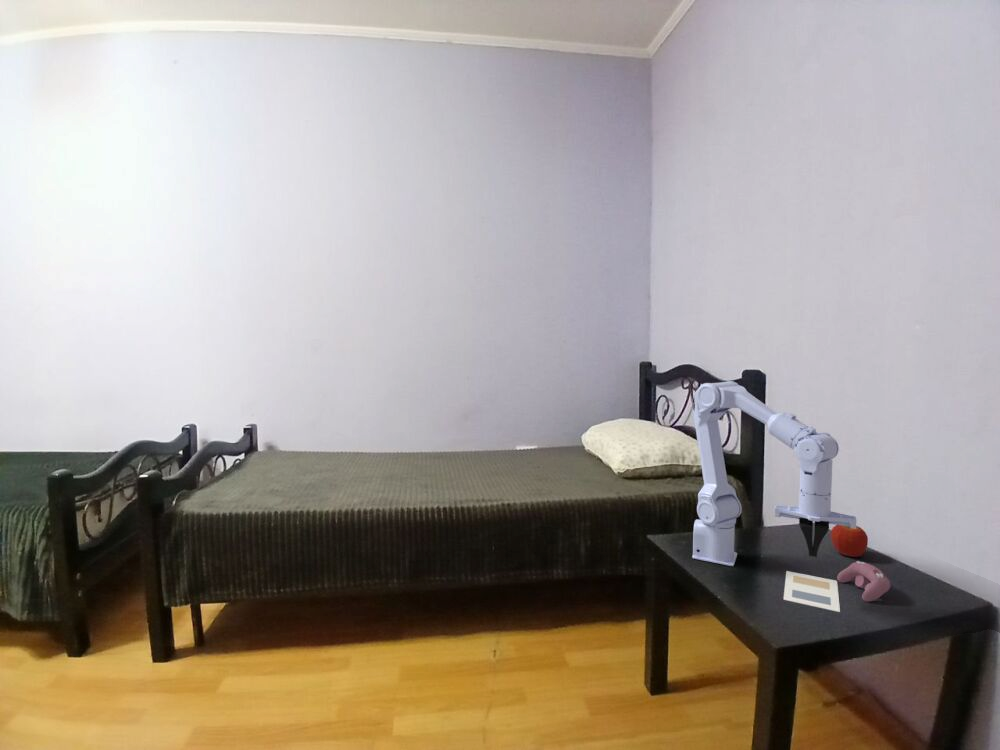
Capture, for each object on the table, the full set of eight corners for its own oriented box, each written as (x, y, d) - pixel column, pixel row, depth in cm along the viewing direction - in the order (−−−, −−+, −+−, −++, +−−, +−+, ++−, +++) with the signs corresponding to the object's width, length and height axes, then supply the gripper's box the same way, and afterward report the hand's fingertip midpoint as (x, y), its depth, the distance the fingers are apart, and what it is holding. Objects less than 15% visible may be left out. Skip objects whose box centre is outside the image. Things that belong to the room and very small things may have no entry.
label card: (783, 601, 109) (783, 599, 109) (786, 572, 122) (786, 570, 122) (839, 614, 104) (840, 611, 104) (836, 582, 117) (836, 580, 117)
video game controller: (882, 610, 108) (899, 581, 107) (862, 600, 107) (879, 571, 107) (851, 587, 117) (866, 560, 117) (833, 578, 117) (848, 551, 117)
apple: (837, 559, 128) (838, 528, 127) (824, 546, 136) (825, 517, 135) (873, 562, 126) (874, 531, 126) (858, 549, 134) (859, 519, 133)
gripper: (774, 491, 108) (772, 554, 110) (858, 502, 101) (855, 569, 102) (776, 483, 114) (774, 542, 116) (855, 492, 107) (853, 556, 108)
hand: (812, 554), depth 109 cm, fingers closed
